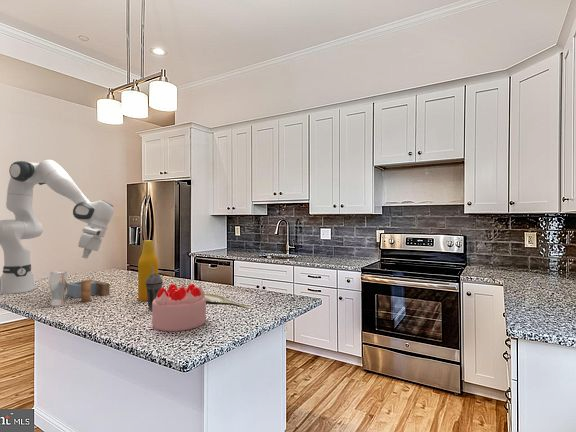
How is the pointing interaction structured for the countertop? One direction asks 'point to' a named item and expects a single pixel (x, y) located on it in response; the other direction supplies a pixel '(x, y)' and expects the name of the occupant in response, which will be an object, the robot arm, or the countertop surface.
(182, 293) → the cake
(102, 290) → the backstop wall
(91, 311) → the countertop surface
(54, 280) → the beer glass
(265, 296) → the countertop surface
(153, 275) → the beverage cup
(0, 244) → the robot arm
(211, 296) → the spoon
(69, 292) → the socket block
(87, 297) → the dowel
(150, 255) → the beer bottle
